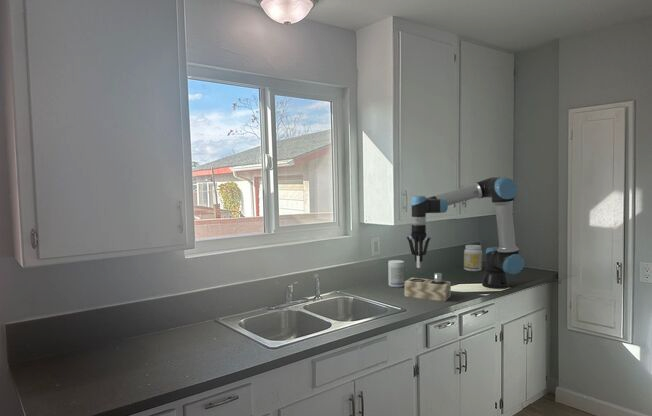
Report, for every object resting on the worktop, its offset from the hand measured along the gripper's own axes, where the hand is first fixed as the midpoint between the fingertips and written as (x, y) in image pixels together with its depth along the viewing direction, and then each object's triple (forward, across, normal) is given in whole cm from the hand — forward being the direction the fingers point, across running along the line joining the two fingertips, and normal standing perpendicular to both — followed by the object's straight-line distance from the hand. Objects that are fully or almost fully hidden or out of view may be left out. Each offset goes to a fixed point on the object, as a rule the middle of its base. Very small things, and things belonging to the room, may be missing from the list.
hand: (418, 267), depth 253 cm
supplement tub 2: (+17, +13, +86) cm, 88 cm away
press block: (+15, +5, 0) cm, 16 cm away
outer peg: (+15, -1, 0) cm, 15 cm away
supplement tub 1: (+15, -18, +15) cm, 28 cm away
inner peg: (+10, +10, 0) cm, 15 cm away
